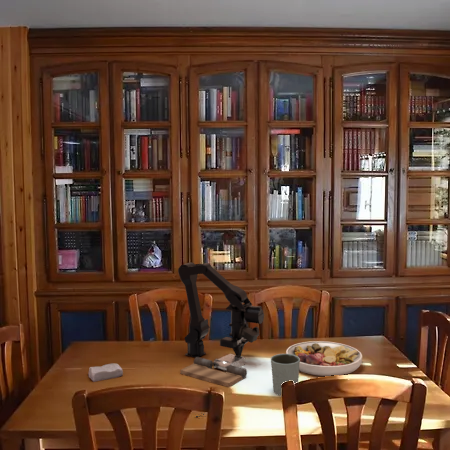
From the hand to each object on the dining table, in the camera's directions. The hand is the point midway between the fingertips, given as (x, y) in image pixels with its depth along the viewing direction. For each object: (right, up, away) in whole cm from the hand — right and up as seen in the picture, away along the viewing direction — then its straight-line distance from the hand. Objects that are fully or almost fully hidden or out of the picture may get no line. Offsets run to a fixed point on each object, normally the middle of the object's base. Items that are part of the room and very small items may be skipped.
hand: (238, 358), depth 208 cm
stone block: (-52, -4, -12) cm, 54 cm away
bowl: (+34, -2, -3) cm, 34 cm away
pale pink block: (-4, -2, -5) cm, 7 cm away
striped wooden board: (-11, -3, -15) cm, 18 cm away
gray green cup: (+16, -4, -29) cm, 34 cm away
